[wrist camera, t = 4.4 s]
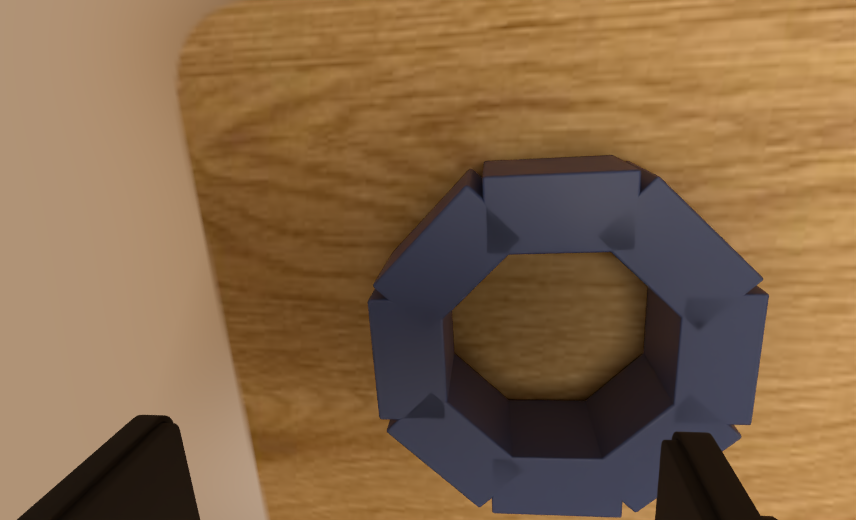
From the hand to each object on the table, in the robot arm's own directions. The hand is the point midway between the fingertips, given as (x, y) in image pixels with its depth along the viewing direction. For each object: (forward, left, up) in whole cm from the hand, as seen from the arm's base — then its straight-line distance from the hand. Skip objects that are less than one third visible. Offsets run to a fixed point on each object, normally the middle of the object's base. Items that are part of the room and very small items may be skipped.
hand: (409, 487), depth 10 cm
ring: (+3, 0, -8) cm, 8 cm away
